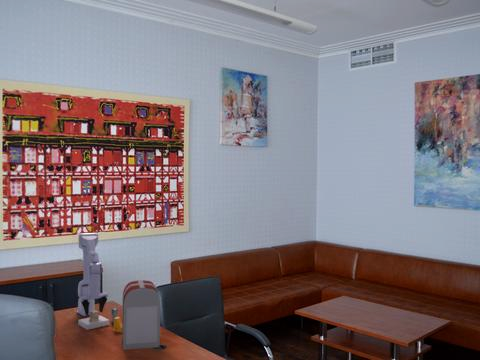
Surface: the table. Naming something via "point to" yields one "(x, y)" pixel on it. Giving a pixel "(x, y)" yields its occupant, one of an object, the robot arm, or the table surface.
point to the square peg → (94, 315)
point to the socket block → (93, 323)
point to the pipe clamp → (117, 324)
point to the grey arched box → (140, 315)
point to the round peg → (114, 314)
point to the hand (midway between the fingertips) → (93, 313)
